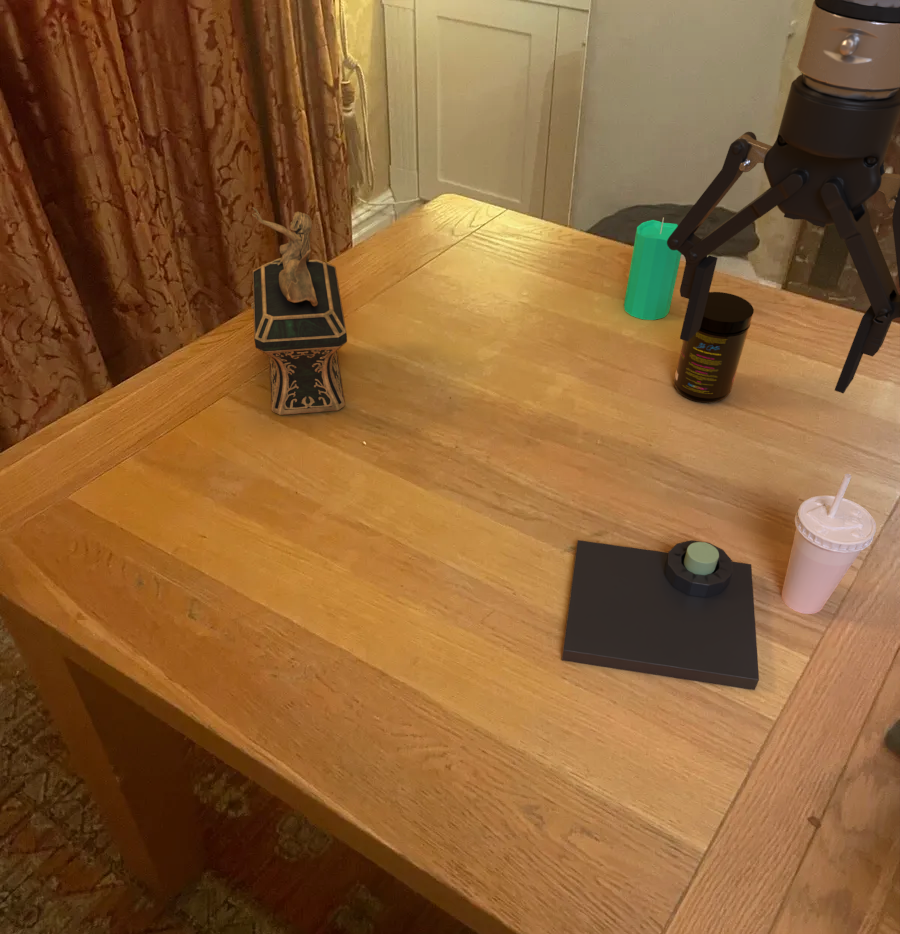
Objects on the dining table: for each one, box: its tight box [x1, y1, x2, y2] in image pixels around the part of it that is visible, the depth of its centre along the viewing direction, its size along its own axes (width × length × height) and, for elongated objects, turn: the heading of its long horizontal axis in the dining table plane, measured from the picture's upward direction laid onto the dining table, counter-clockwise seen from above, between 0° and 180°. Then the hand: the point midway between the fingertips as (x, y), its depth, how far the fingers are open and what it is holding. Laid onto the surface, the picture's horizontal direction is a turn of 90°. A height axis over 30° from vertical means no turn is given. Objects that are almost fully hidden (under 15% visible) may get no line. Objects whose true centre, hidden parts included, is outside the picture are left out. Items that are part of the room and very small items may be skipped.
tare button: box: [684, 541, 719, 575], centre depth 81 cm, size 3×3×2 cm
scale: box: [561, 539, 760, 691], centre depth 79 cm, size 16×14×3 cm
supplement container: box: [673, 291, 755, 404], centre depth 102 cm, size 7×7×10 cm
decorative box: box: [250, 206, 348, 416], centre depth 97 cm, size 20×10×20 cm, turn 9°
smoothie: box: [781, 473, 877, 615], centre depth 77 cm, size 6×6×14 cm
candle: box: [623, 216, 682, 321], centre depth 115 cm, size 6×6×12 cm
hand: (764, 358), depth 77 cm, fingers open, 13 cm apart
